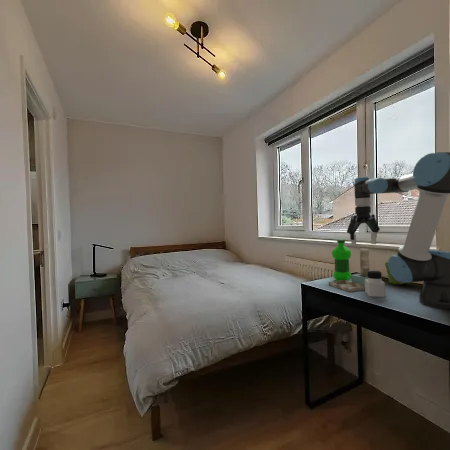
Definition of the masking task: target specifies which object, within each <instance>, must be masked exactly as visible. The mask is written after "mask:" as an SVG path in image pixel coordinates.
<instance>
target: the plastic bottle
mask: <svg viewBox="0 0 450 450" xmlns="http://www.w3.org/2000/svg"><path fill="white" fill-rule="evenodd" d="M336 242H337V244H338V245H337V246H336V247H335V248H334V249H332V252H331V255H332V258H333V259H334V273H333V278H334V280H335V281H339V280H348V281H351V279H352V273H351V271H350V258H351V256H352V251H351V249H349V248H348V247H347V246H345V244H346V239H345V238H344V239H337V240H336Z"/></svg>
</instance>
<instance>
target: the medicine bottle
mask: <svg viewBox="0 0 450 450" xmlns="http://www.w3.org/2000/svg"><path fill="white" fill-rule="evenodd" d="M367 274H368V279H365V290H364V291H365V294H366V295H367V296H369V297H383V298H384V297H386V283H385V282H384V281H383V280H382V277H383V276H382V275H383V274H382V271H379V270H375V269H372V270H370V269H369V271H368V272H367Z"/></svg>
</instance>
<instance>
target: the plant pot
mask: <svg viewBox="0 0 450 450" xmlns="http://www.w3.org/2000/svg"><path fill="white" fill-rule="evenodd" d="M383 264H384V265H385V268H386V273H387V278H388V282H389V283H390V284H393V285H405V283H406V282H404V283H403V282H399V281H397V280H396V279H394V277H393V276H392V275H391V273H390V270H389V267H388V261H386V262H383Z"/></svg>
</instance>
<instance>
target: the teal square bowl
mask: <svg viewBox="0 0 450 450" xmlns="http://www.w3.org/2000/svg"><path fill="white" fill-rule="evenodd" d="M365 279H368V277H362V276H361V273H354V274H351V282H354V283H358V284H361V285H365Z"/></svg>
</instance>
